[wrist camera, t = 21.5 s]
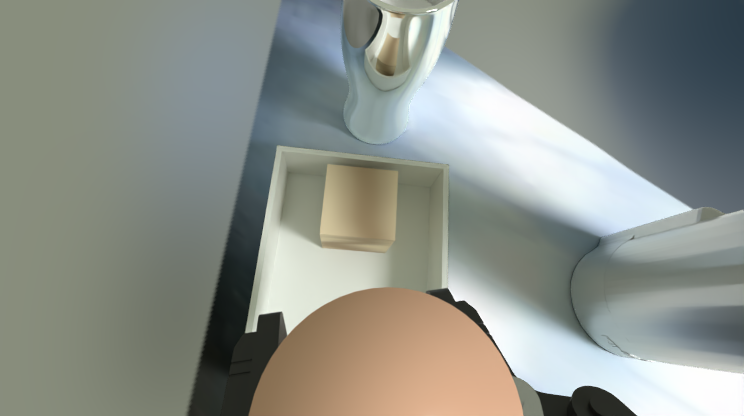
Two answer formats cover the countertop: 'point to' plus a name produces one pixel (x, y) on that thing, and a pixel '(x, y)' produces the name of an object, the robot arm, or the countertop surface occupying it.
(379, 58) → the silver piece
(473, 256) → the countertop surface
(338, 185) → the beech cube
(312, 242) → the grey tote
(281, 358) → the terracotta cylinder
